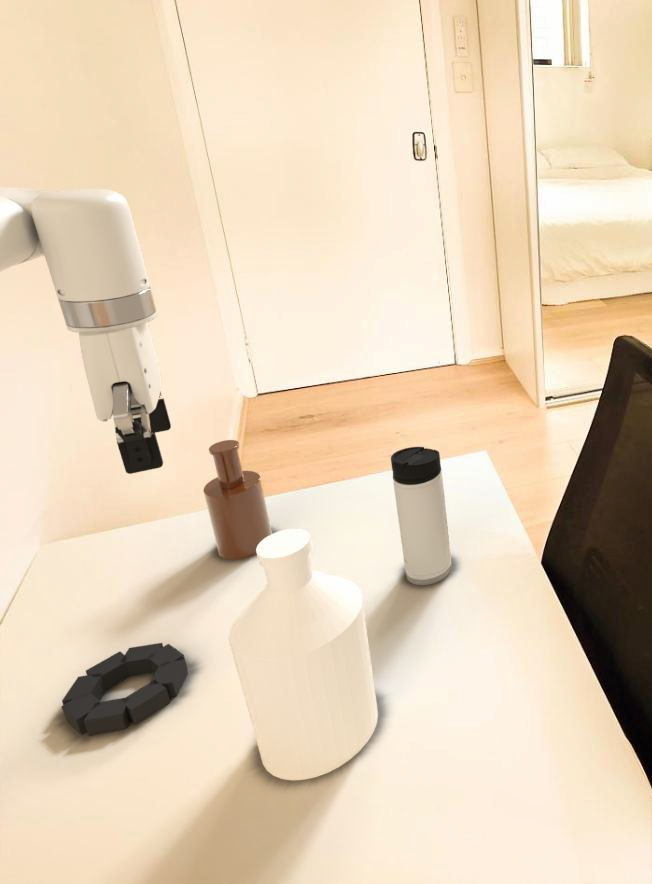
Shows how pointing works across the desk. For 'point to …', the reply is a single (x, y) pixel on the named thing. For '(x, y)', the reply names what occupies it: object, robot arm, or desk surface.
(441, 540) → the travel mug
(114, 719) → the rubber ring
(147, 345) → the robot arm
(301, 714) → the bottle
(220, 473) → the amber bottle
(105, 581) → the desk surface
